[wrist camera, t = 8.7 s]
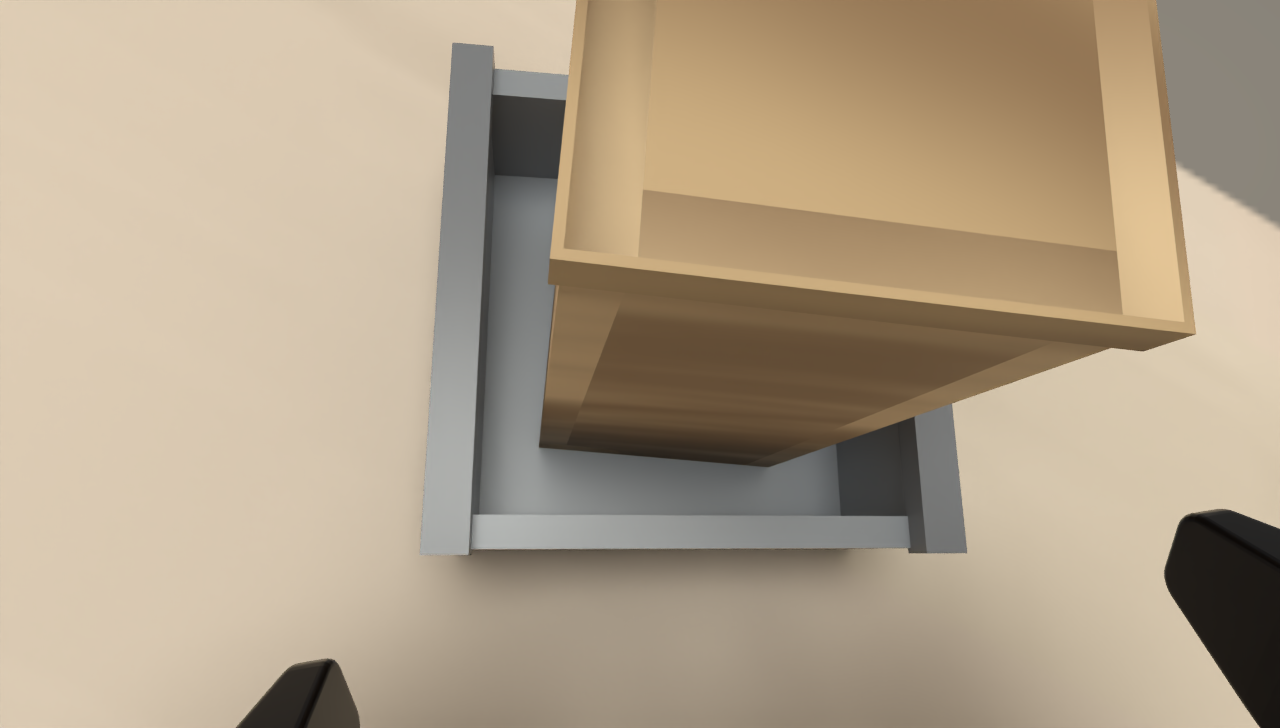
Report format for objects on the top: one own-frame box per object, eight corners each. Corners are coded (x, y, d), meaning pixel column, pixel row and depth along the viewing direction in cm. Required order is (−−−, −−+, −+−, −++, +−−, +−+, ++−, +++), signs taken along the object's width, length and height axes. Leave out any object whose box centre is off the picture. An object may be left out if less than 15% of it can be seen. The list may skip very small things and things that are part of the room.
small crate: (772, 471, 18) (1195, 333, 7) (533, 451, 18) (549, 257, 6) (778, 250, 20) (1135, -176, 8) (557, 223, 19) (606, -285, 7)
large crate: (853, 553, 19) (967, 552, 14) (449, 554, 18) (419, 555, 13) (829, 190, 21) (918, 83, 17) (470, 166, 20) (452, 42, 15)
